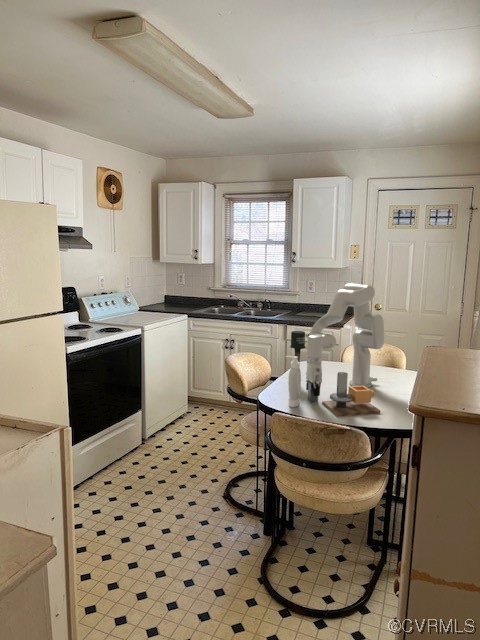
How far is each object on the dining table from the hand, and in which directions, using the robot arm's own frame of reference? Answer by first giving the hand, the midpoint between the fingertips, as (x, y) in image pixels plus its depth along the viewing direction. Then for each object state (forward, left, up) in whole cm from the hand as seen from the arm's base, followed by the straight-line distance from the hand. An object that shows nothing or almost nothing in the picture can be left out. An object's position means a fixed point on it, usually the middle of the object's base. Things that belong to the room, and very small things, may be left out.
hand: (312, 392), depth 240 cm
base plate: (-14, +14, -4) cm, 20 cm away
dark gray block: (0, 0, -4) cm, 4 cm away
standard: (-9, +14, -3) cm, 17 cm away
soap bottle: (+12, +2, -5) cm, 13 cm away
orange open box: (-20, +14, 0) cm, 25 cm away
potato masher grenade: (-3, -32, -5) cm, 33 cm away
